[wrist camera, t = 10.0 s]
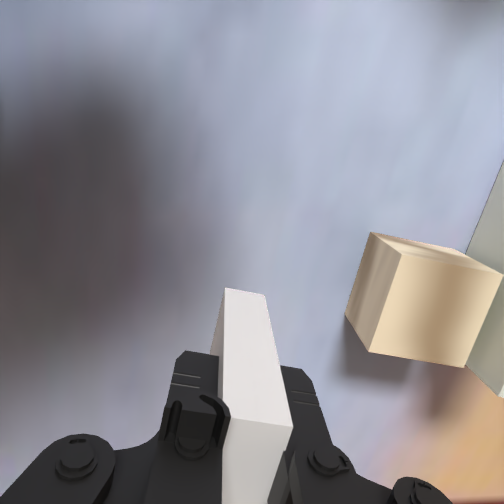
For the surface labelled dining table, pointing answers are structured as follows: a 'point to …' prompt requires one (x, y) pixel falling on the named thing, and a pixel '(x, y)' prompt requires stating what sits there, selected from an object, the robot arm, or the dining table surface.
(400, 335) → the birch block
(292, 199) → the dining table surface
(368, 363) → the dining table surface
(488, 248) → the board
